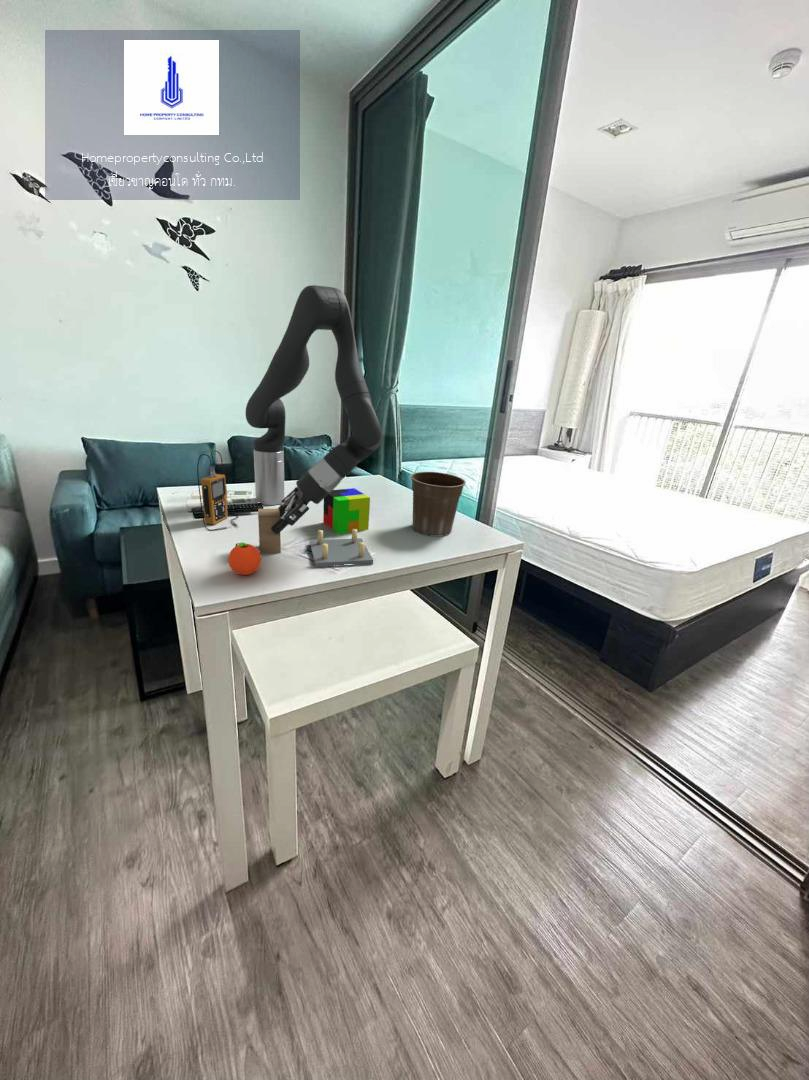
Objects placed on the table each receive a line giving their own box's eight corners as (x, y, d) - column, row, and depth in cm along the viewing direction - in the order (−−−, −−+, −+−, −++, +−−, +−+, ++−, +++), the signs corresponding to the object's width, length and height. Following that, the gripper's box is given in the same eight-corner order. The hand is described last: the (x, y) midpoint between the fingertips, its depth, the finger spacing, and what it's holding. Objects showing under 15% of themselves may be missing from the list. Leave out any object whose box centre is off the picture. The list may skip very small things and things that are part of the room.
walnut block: (259, 545, 112) (258, 508, 109) (279, 544, 114) (279, 508, 110) (259, 553, 108) (258, 515, 104) (280, 552, 110) (279, 515, 106)
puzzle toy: (353, 518, 137) (354, 488, 134) (368, 529, 130) (370, 497, 126) (323, 522, 132) (323, 490, 128) (337, 534, 124) (338, 500, 121)
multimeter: (229, 534, 118) (224, 460, 110) (196, 528, 119) (188, 455, 112) (257, 517, 131) (254, 451, 124) (227, 512, 133) (222, 446, 125)
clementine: (221, 569, 98) (219, 540, 96) (250, 562, 103) (249, 534, 100) (237, 583, 93) (235, 553, 91) (267, 575, 98) (266, 545, 95)
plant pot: (469, 535, 132) (477, 483, 126) (425, 542, 124) (431, 487, 118) (438, 518, 145) (444, 470, 139) (396, 523, 137) (400, 473, 131)
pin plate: (309, 544, 116) (309, 527, 114) (361, 542, 120) (362, 526, 118) (315, 567, 103) (315, 549, 102) (372, 564, 108) (374, 546, 106)
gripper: (306, 463, 112) (261, 506, 113) (312, 477, 100) (261, 525, 101) (326, 483, 116) (282, 525, 117) (334, 499, 104) (285, 546, 104)
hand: (273, 525), depth 109 cm, fingers open, 8 cm apart
